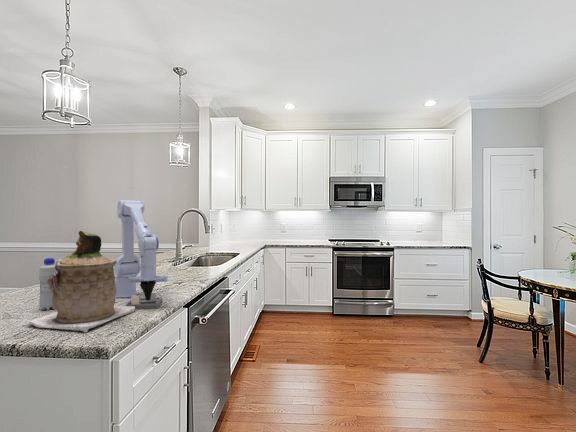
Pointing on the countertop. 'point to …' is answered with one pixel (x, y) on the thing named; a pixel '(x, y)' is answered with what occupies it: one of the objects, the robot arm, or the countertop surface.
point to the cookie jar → (83, 289)
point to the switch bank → (146, 303)
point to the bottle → (45, 290)
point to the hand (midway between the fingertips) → (148, 299)
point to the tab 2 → (154, 296)
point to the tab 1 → (136, 299)
